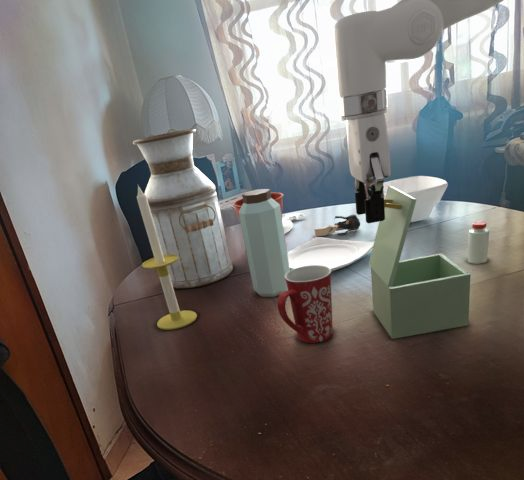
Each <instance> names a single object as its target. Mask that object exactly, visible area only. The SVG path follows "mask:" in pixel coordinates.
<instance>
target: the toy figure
mask: <svg viewBox="0 0 524 480" xmlns="http://www.w3.org/2000/svg"><path fill="white" fill-rule="evenodd" d="M357 215H358V214H349V215H347V216H343V215H335V217H334V221H335V219H343V220H342V221H338V222H336V223H334V224H333V225H331V224H329V225H326V226H325V227H317V228H313V234H314V237H323V236H324V237H325V236H328V235H330V234H333V235H334V234H335V233H336V232H337V235H338V236H340V235H346V234H347V233H348V232H353V231H354V232H356V231H358V230H359V229H360V227H361V221H360V219H359V218H358V216H357ZM344 230H345V232H340V231H344Z"/></svg>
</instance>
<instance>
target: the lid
mask: <svg viewBox="0 0 524 480" xmlns="http://www.w3.org/2000/svg"><path fill="white" fill-rule="evenodd" d="M416 200H417V199H415V198H413V197H412V196H410V195H408V194H406V193H404V192H402V191H400V190H398V189H396V188H394V187H393V186H388V189H387V193H386V197H385V198H384V209H385V220H383V221H379V222H378V225H377V230H376V234H375V237H374V241H373V242H374V245H373V248H372V249H371V253H370V258H369V261H368V265H369V266H370V268H371V267H372V268H373V270H374V271H375V272H376V273H377V274H378V275H379V277H380V278H381V279H382V280H383V281H384V283H385V284H386V285H387V286H388V287H392V285H393V281H394V278H395V274H396V271H397V267H398V264H399V261H401V260H400V259H401V257H402V253H403V249H404V247H405V242H406V238H407V235H408V232H409V229H410V225H411V223H410V221H411V218H412V214H413V211H414V207H415V204H416Z"/></svg>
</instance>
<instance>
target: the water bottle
mask: <svg viewBox="0 0 524 480" xmlns="http://www.w3.org/2000/svg"><path fill="white" fill-rule="evenodd" d="M271 193H272V191H271V188H270V189H269V188H259V189H258V188H257V189H253V190H249V191H245V192H244V193H243V194H242V196H241V197H242V198H243V205H242V206H241V208H240V210H239V217H240V220H239V223H240V222H241V223H240V227H241V232H242V236H243V242H244V247H245V252H246V258H247V262H248V268H249V273H250V279H251V284H252V288H253V290H254V292H256V293H257V294H258V295H259V296H261V297H262V298H274V297H277V296H278V297H279V295H280V294H281V293H282V292H284V291H288V288H287V283H286V280H285V279H284V275H285V274H286V273H287V272H289V271H290V268H289V262H288V255H287V252H288V250H287V243H286V236H285V235H286V234H284V229H283V222H282V218H283V214H282V215H281V209H280V204H279V203H277V202H276V201H275V200H273V199H272V198H271ZM239 217H238V218H239Z"/></svg>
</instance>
